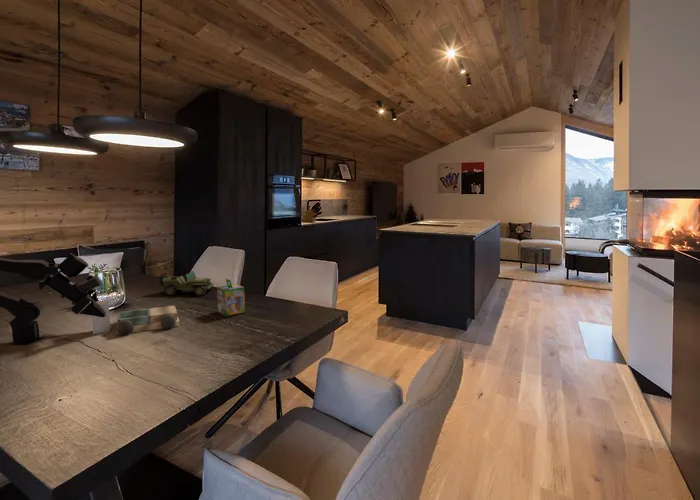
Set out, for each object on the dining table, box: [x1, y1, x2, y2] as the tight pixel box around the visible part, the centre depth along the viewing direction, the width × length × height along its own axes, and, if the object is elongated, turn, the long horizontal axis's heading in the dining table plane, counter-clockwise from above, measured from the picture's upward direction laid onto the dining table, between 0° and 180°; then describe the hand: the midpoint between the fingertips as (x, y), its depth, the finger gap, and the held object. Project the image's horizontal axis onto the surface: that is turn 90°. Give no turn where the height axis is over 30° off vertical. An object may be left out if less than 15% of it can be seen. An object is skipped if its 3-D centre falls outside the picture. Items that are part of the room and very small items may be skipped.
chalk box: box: [216, 278, 246, 317], centre depth 161 cm, size 9×9×15 cm
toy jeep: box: [158, 271, 215, 297], centre depth 194 cm, size 12×25×11 cm, turn 91°
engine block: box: [91, 299, 111, 335], centre depth 136 cm, size 5×5×11 cm
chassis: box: [116, 304, 181, 336], centre depth 144 cm, size 20×18×5 cm
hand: (105, 313), depth 137 cm, fingers open, 8 cm apart
